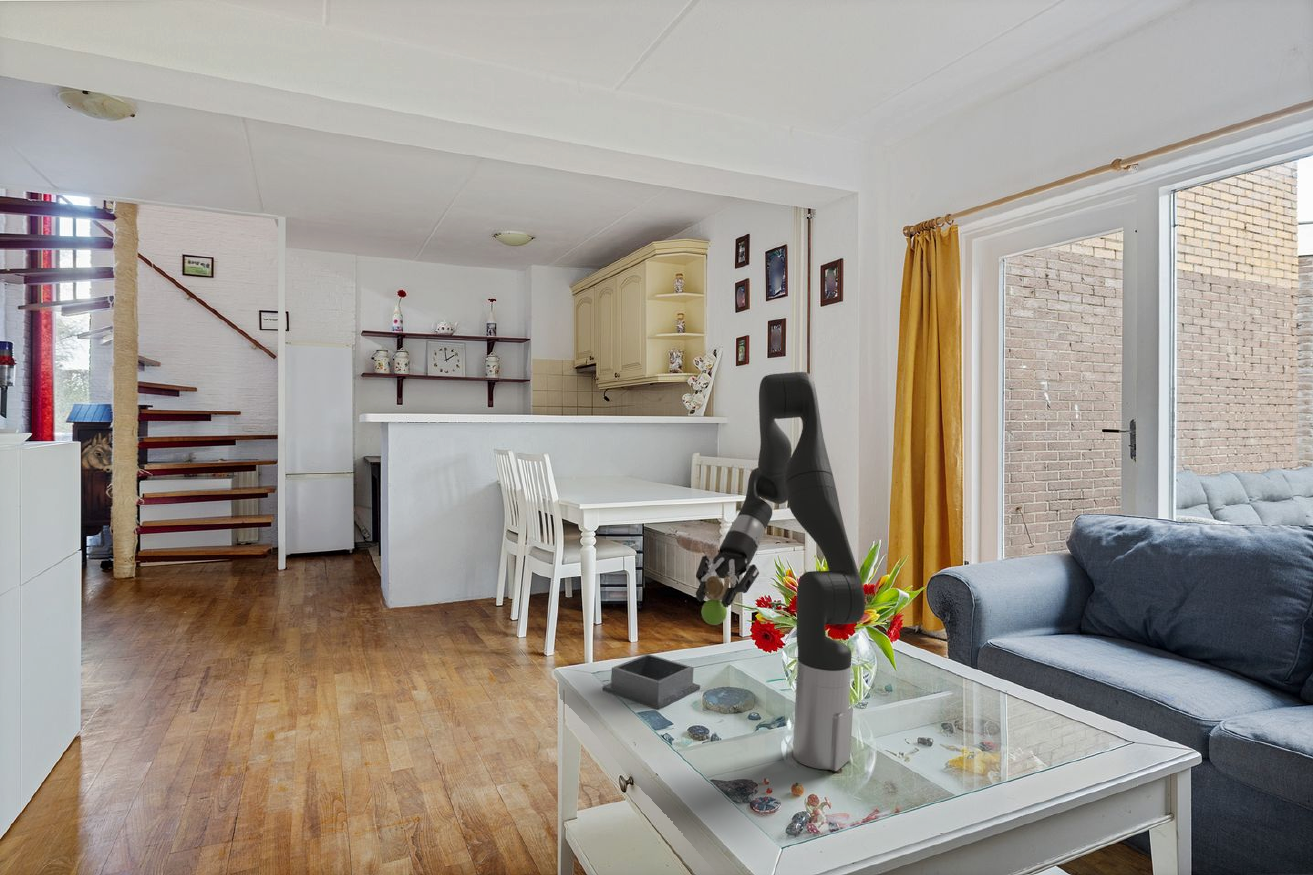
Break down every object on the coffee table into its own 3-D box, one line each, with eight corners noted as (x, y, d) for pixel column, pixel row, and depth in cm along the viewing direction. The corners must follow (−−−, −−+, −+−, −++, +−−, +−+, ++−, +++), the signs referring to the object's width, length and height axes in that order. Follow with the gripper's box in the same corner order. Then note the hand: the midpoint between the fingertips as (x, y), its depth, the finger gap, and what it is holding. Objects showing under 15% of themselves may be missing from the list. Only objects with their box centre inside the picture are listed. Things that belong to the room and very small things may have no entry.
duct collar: (700, 688, 161) (701, 667, 161) (659, 709, 149) (660, 685, 149) (645, 671, 170) (646, 651, 170) (602, 689, 158) (603, 667, 158)
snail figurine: (721, 630, 154) (723, 574, 154) (695, 624, 158) (698, 568, 158) (734, 625, 158) (737, 570, 158) (710, 619, 162) (712, 565, 162)
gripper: (709, 525, 168) (677, 586, 159) (765, 533, 159) (734, 598, 150) (721, 545, 172) (690, 605, 163) (776, 554, 164) (746, 619, 155)
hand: (711, 601), depth 157 cm, fingers closed on snail figurine, 6 cm apart
